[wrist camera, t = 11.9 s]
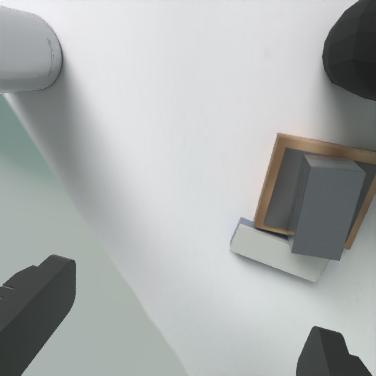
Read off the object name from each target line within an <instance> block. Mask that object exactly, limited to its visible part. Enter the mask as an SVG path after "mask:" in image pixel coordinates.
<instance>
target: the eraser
mask: <svg viewBox="0 0 376 376" xmlns="http://www.w3.org/2000/svg"><path fill="white" fill-rule="evenodd" d="M230 251H232V252H235V253H238V254H240V255H243V256H245V257H248V258H251V259H253V260H256V261H259V262H261V263H264V264H267V265H269V266H272V267H275V268H277V269H280V270H282V271H285V272H288V273H290V274H293V275H296V276H298V277H301V278H304V279H306V280H309V281H312V282H314V283H315V282H316V280H317V279H318V277H319V276H320V274H321V272H322V271H323V269H324V268H325V266H326V264H327V263H328V261H329V259H325V258H319V257H313V256H306V255H300V254H294V253H291V249H290V244H289V239H288V235H286V234H282V233H278V232H273V231H269V230H265V229H261V228H256V227H254V222H253V221H250V220H247V219H244V218H242V217H241V218H240V220H239V223H238V225H237V227H236V230H235V232H234V234H233V236H232V239H231V243H230Z"/></svg>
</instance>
